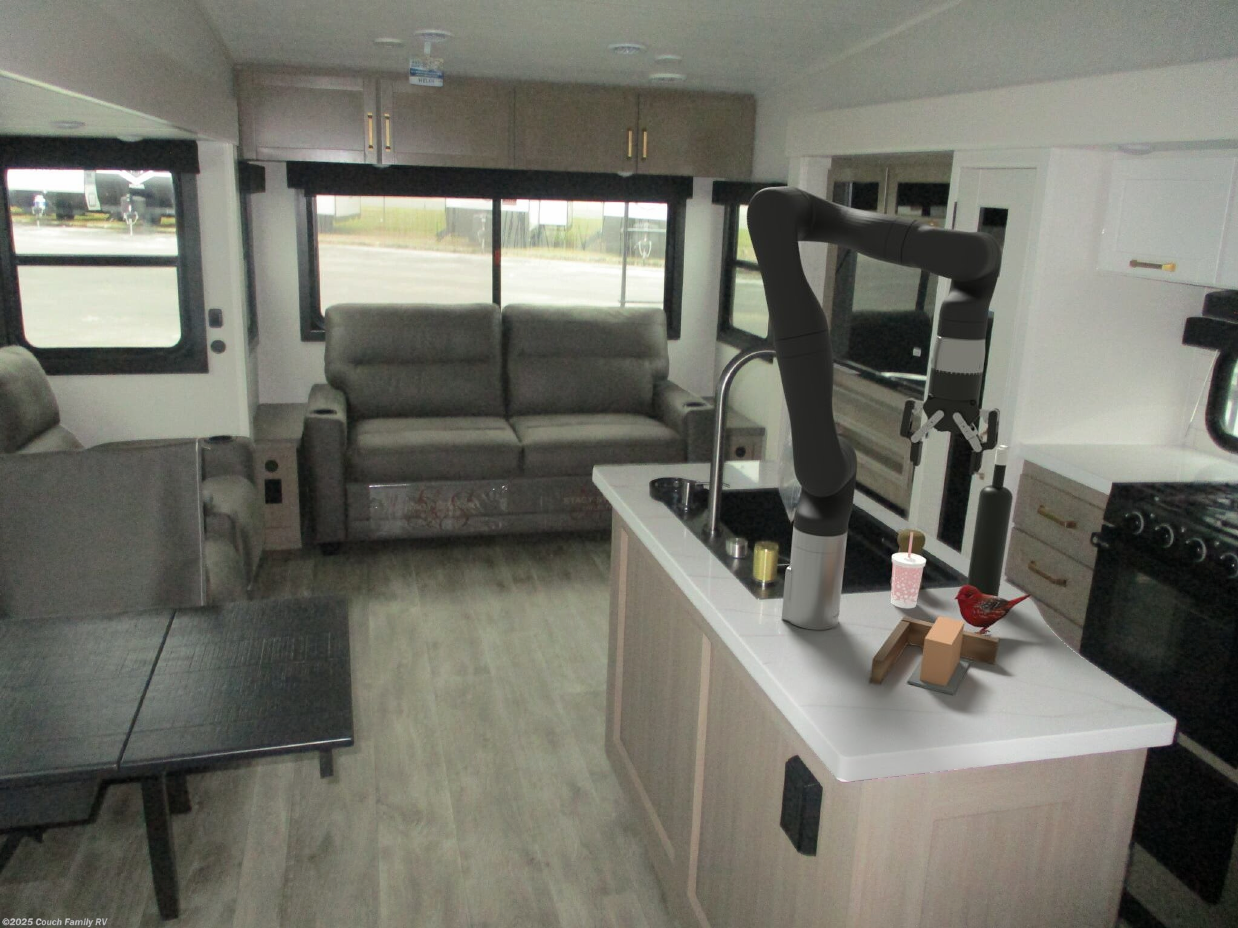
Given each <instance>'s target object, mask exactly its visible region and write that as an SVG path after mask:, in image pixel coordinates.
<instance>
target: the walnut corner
mask: <svg viewBox="0 0 1238 928" xmlns="http://www.w3.org/2000/svg"><path fill="white" fill-rule="evenodd" d="M934 623H935V622H934ZM934 623H933V622H928V621H926V620H925V621H924V620H922V619H921V620H920V619H915V618H913V617H909V616H908V617H907V616H903V617H902V618H901V620H900V621H899V622H898V624H897V625H896V627H894V628H893V630H892V632H891V634H890V635H889V636H888V637H887V639H886V640H885V641H884V643H882V645H881V647H880V648H879V649H878V651H877V652H876V654H874V656H873V658H872V661H871V662H872V663H871V669H870V670H871V671H870V680H869V683H873V684H876V685H881V683H882V682H883V680H884V679H885V677H887V674H888V673H889V672H890V670H891V669H892V667H894V664H895V663H896V662H897V660H898V658H899V657H900V656H901V654H902V653H903V651H904V649H906V646H907V645H908V644H909V645H914V646H918V647H922V648H924V641H925V637H926V636H927V634H928V633H929V631H930V630H931V628H932V626H933V625H934ZM999 641H1000V638H998V637H993V636H989V635H986V634H977V633H974V632H972V631H968V630H963V637H962V644H961V651H960V657H961V658H962V657H963V658H965V659H969V660H970V659H971V660H974V661H978V662H982V663H986V664H991V665H995V663H996V660H997V655H998V647H999Z"/></svg>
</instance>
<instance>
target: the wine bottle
mask: <svg viewBox="0 0 1238 928" xmlns="http://www.w3.org/2000/svg"><path fill="white" fill-rule="evenodd" d="M995 449H996V450H995V457H994V468H993V475H992V481H991V484H990V485H986V486H983V488H981V490H980V492H979V496H978V503H977V510H976V516H975V523H974V524H975V525H974V531H973V540H972V546H971V547H972V548H971V553H970V561H969V567H968V575H967V581H966V585H970V586H973V587H975V588H977V589H978V590H979V591H980V592H981V593H982V594H985V595H992V596H997V597H999V593H1000V592H999V591H1000V586H1001V580H1002V572H1003V567H1004V566H1003V565H1004V561H1005V560H1004V558H1005V552H1006V545H1007V540H1008V532H1009V525H1010V517H1011V512H1012V504H1013V497H1014V496H1013V493H1012V491H1011V490H1010V489H1009V488H1007V487H1006V486H1004V484H1005V483H1004V482H1005V476H1006V469H1007V466H1008V460H1009V453H1010V446H1008V445H1003V444H999V445H998V444H997V445H996V447H995Z"/></svg>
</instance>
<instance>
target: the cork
mask: <svg viewBox="0 0 1238 928" xmlns="http://www.w3.org/2000/svg"><path fill="white" fill-rule="evenodd" d="M911 532H913V540H912V548H911V553H912V554H916V555H920V556H922V549H923V548H925V544H926V536H925V534H924V533H923V532H921V531H919V530H917V529H916V530H915V529H912V528H911V529H908V528H907V529H903V530H901V531H900V532H899V533H898V535H897V544H898V546H899V548H898V552H897V553H908V551H909V542H910V534H911ZM889 582H890V585H892V577H891V578H890V580H889ZM922 587H923V576H922V577H921V582H920V587H919V590H920V589H922Z"/></svg>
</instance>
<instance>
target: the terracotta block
mask: <svg viewBox="0 0 1238 928" xmlns="http://www.w3.org/2000/svg"><path fill="white" fill-rule="evenodd" d="M964 627H965V621H964V620H962V621H961V620H957V619H954V618H949V617H945V616H939V615H938V617H937V618H936V620H935V622H934V625H933V626H932V628H931V630H930V631H929V633H928V634H927V636H926V637H925V641H924V647H923V650H922V657H921V658H922V665H921V672H920V680H924V681H927V682H931V683H935V684H939V685H943V686H946V685H947V683H948V681H949V679H950V678H951V676H952V674H953V672H954V670H955V668H956V666H957V664H958V663H959V658H961V656H960V651H961V644H962V637H963V630H964V629H965V628H964ZM964 631H965V630H964Z"/></svg>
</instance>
